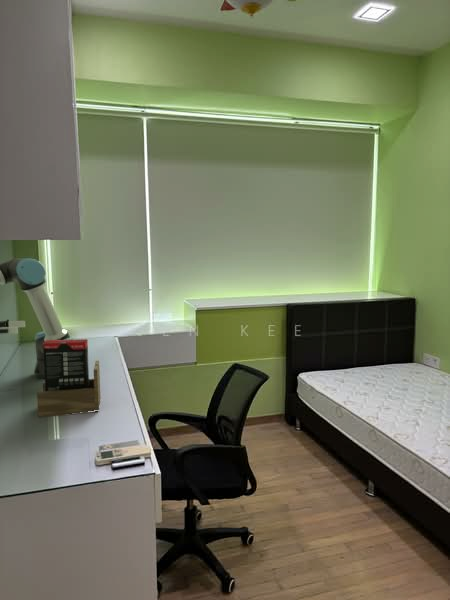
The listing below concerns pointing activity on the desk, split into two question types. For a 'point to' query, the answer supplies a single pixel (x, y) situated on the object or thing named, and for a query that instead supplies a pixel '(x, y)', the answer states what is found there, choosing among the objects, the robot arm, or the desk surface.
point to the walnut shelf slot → (70, 398)
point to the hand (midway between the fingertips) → (21, 326)
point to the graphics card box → (66, 364)
